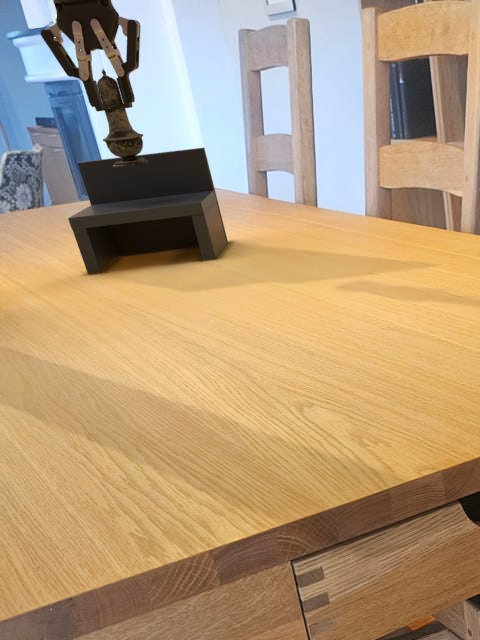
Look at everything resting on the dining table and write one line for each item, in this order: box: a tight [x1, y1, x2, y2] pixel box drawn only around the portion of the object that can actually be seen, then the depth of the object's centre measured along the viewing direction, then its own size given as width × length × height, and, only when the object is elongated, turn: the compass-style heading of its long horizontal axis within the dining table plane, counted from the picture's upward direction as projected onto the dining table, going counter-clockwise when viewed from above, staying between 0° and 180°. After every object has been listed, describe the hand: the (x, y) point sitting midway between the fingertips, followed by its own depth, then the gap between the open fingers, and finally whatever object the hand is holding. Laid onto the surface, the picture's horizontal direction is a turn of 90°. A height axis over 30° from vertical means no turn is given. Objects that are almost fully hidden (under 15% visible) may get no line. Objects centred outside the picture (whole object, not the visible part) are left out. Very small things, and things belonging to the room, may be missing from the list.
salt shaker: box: [97, 68, 149, 167], centre depth 123 cm, size 6×6×12 cm
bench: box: [67, 147, 229, 275], centre depth 131 cm, size 20×14×14 cm
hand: (114, 108), depth 122 cm, fingers closed on salt shaker, 3 cm apart
